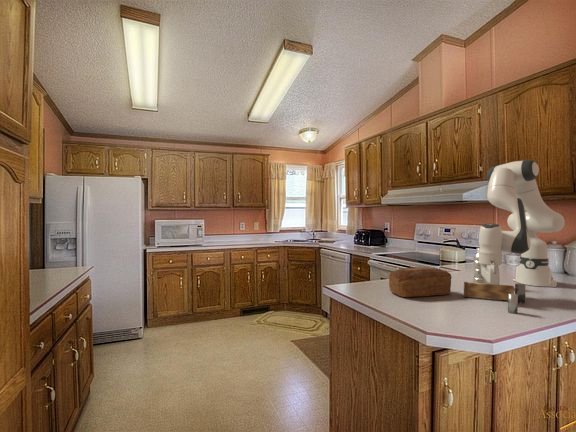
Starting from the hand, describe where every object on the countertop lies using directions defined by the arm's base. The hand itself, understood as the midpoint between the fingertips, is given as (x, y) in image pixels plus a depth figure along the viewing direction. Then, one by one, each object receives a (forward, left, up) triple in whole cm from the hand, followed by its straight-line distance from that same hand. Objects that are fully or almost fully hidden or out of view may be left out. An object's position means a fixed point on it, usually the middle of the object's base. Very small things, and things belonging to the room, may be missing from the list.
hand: (489, 290), depth 137 cm
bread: (+20, -22, -4) cm, 30 cm away
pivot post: (-3, +10, -3) cm, 11 cm away
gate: (+3, +1, -3) cm, 4 cm away
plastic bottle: (-19, -12, -3) cm, 23 cm away
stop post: (+16, +14, -3) cm, 22 cm away
